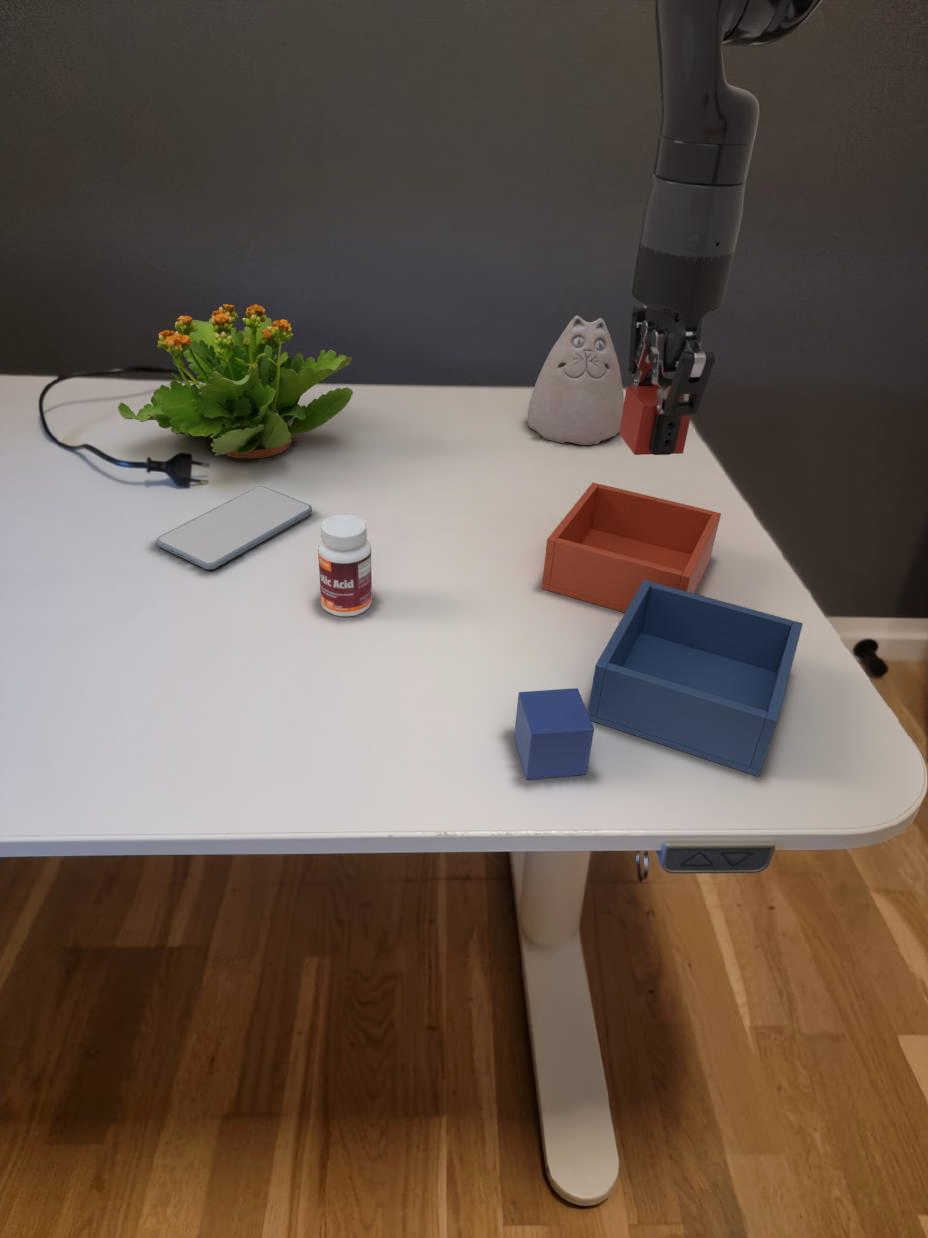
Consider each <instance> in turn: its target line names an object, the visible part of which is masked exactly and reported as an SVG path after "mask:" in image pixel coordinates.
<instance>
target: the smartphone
mask: <svg viewBox="0 0 928 1238" xmlns="http://www.w3.org/2000/svg"><path fill="white" fill-rule="evenodd" d="M312 513H313V507H312V505H310V504H308V503H306V502H303V501H301V500H298V499H296V498H294V497H291V496H289V495H286V494H284V493H281V492H278V491H276V490H274V489H271V488H269V487H266V486H261V485H260V486H256V487H254V488H252V489H250V490H248V491H246V492H244V493H242V494H240V495H238V496H236V497H235V498H232V499H230V500H228V501H226V502H223V503H222V504H220V505H218V506H216V507H214V508H212V509H210V510H209V511H206V512H204V513H203V514H201V515H199V516H197V517H195V518H193V519H191V520H189V521H187V522H185V523H183V524H181V525H179V526H178V527H175V528H173V529H171V530H169V531H167V532H166V533H163V534H161V535H160V536H158V537H157V538H156V545H157V546H158V547H159V548H161V549H163V550H165V551H167V552H169V553H171V554H173V555H175V556H178V557H180V558H182V559H183V560H186V561H188V562H190V563H191V564H194V565H195V566H198V567H200V568H202V569H204V570H215V569H217V568H219V567H220V566H223V565H225V564H226V563H228V562H230V561H231V560H233V559H235V558H236V557H239V556H240V555H242V554H243V553H245V552H247V551H249V550H250V549H253V548H254V547H255V546H258V545H260V544H261V543H263V542H264V541H266V540H268V539H270V538H271V537H273V536H275V535H277V534H278V533H281V532H282V531H283V530H286V529H287V528H289V527H291V526H292V525H294V524H296V523H297V522H299V521H301V520H303V519H305V518H306V517H308V516H310V515H311V514H312Z"/></svg>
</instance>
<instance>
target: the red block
mask: <svg viewBox="0 0 928 1238" xmlns="http://www.w3.org/2000/svg"><path fill="white" fill-rule="evenodd" d="M670 387H671V386H670ZM670 387H668V389H667V396H668V393H669V390H670ZM656 395H657V388H656V387H655V386H634V385H633V386H632V385H631V386H630V385H629V386H628V385H627V386H626V387H625V395H624V406H623V413H622V419H621V425H620V431H619V432H618V434H619V436H620V437H621V439H622V440H623V441H624V443H625V444H626V446H627V447H628V448H629V449H630V451H631V452H632V454H633V455H634V456H641V455H643V456H645V455H646V456H647V455H653V454H652V453H651V451H650V450H649V444H650V438H651V433H652V427H653V422H654V416H655V412H656ZM691 417H692V416H682V418H681V423H680V428H679V433H678V438H677V443H676V448H675V451H674V452H673V453H672V454H671V455H676V454H677V455H678V454H681V455H682V454H684V451H685V446H686V441H687V436H688V432H689V426H690V422H691Z"/></svg>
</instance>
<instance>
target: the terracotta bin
mask: <svg viewBox="0 0 928 1238" xmlns="http://www.w3.org/2000/svg"><path fill="white" fill-rule="evenodd" d="M721 516H722V513H721V512H717V511H714V510H710V509H705V508H701V507H697V506H693V505H690V504H686V503H681V502H677V501H672V500H668V499H664V498H659V497H656V496H653V495H648V494H643V493H639V492H635V491H631V490H627V489H624V488H618V487H614V486H611V485H610V486H609V485H605V484H603V483H597V482H592V483H591V484H590V485H589V486H588V488H586V489H585V491H584V492H583V493H582V495H581V496H580V497H579V499H578V500H577V502H576V503H575V504H574V505H573V506H572V508H571V509H570V510H569V511H568V512H567V514H565V516H564V517H563V518H562V519H561V521H560V523H559V524H558V525H557V526H556V528H555V529H554V530H553V532H551V534H550V535H549V536H548V538H547V539H546V546H545V555H544V564H543V572H542V582H541V590H546V591H548V592H552V593H555V594H559V595H562V596H566V597H569V598H573V599H577V600H580V601H583V602H587V603H591V604H594V605H597V606H600V607H604V608H608V609H611V610H615V611H618V612H621V613H625V612H626V610H627V609H628V607H629V605H630V603H631V601H632V600H633V598H634V596H635V594H636V593H637V591H638V589H639V587H640V586H641V584H642V582H643V580H646V581H649V582H652V583H657V584H661V585H664V586H668V587H672V588H675V589H679V590H683V591H686V592H690V593H694V594H696V591H697V589H698V587H699V585H700V582H701V580H702V578H703V576H704V574H705V571H706V569H707V568H708V565H709V563H710V561H711V557H712V553H713V549H714V546H715V545H714V544H715V541H716V536H717V534H718V533H717V532H718V528H719V524H720V520H721Z"/></svg>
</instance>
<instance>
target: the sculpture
mask: <svg viewBox="0 0 928 1238" xmlns="http://www.w3.org/2000/svg"><path fill="white" fill-rule="evenodd" d="M610 334H611V333H610V332H609V330H608V328H607V325H606V323H605V321H604V319H603V318H602V317H599V318H597V319H596V320H594V321H592V322H591V321H586V320H584V319H583V318H582V317H581V316H580V315H575V316H574V317H573V318H572V319H571V320H570V321H569V323H568V324H567V325H566V327H565V329H564V330H563V331H562V333H561V334H560V336H559V338H558V339H557V341H556V342H555V343H554V345H553V346H552V347H551V349H550V351H549V353H548V355H547V357H546V360H545V362H544V364H543V366H542V368H541V369H540V372H539V374H538V376H537V378H536V379H537V380H536V382H535V384H534V388H533V390H532V393H531V396H530V399H529V402H528V403H529V404H528V407H527V425H528V427H529V428H530V429H532V430H534V431H535V432H537V433H538V434H540V435H541V436H542V437H543V439H545V440H547V441H552V442H555V443H560V444H565V443H571V444H575V445H576V444H577V445H579V446H592V445H598V444H600V443H601V441H606V440H608V439H610V438H613V437H616V435H618V434H619V432H620V425H621V419H622V413H623V406H624V400H625V395H624V389H623V380H622V374H621V369H620V368H621V367H620V364H619V363H620V362H619V360H618V355H617V353H616V350H615V346H614V343H613V341H612V338H611V335H610ZM538 439H541V438H538Z"/></svg>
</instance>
